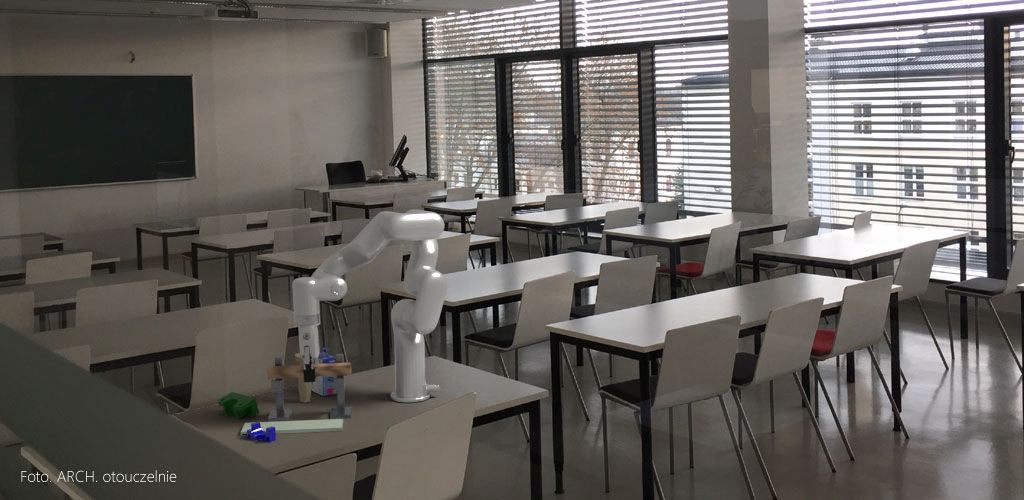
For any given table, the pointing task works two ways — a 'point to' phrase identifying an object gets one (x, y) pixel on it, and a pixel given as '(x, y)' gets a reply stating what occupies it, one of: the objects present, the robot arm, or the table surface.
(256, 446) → the table surface
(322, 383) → the ink cartridge box
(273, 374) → the rail
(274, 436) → the cable holder
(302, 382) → the handle
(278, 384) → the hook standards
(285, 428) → the board
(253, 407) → the clamp
